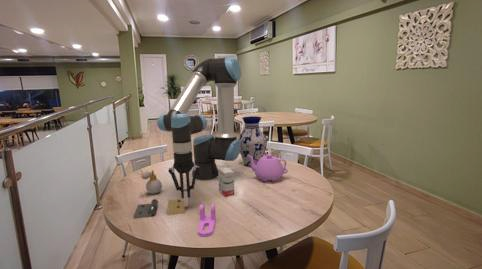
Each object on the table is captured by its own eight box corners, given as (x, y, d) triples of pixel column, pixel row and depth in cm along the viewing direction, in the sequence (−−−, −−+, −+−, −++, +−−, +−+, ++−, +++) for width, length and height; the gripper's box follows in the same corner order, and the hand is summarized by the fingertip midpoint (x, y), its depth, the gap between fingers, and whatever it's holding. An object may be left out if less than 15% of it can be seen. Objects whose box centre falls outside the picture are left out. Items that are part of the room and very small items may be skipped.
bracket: (201, 219, 110) (200, 202, 108) (215, 218, 110) (215, 202, 108) (196, 237, 97) (195, 219, 96) (212, 237, 97) (211, 218, 96)
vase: (241, 170, 167) (239, 120, 161) (235, 161, 185) (233, 116, 179) (271, 167, 171) (271, 118, 165) (262, 158, 189) (262, 115, 183)
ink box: (234, 195, 131) (234, 171, 129) (225, 197, 129) (224, 172, 127) (227, 188, 139) (226, 166, 137) (218, 190, 137) (217, 167, 134)
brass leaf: (185, 203, 124) (184, 197, 124) (184, 214, 115) (184, 207, 114) (169, 205, 123) (168, 199, 123) (167, 215, 113) (166, 209, 113)
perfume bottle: (164, 189, 140) (162, 167, 137) (157, 197, 130) (154, 173, 128) (150, 189, 140) (148, 166, 138) (141, 197, 131) (139, 173, 129)
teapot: (245, 183, 145) (245, 158, 142) (248, 173, 160) (248, 150, 158) (288, 184, 142) (288, 158, 140) (287, 174, 158) (287, 150, 155)
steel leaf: (158, 205, 122) (157, 199, 122) (155, 216, 113) (154, 209, 112) (138, 207, 121) (137, 200, 120) (133, 218, 111) (132, 211, 111)
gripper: (198, 148, 119) (201, 199, 124) (167, 150, 117) (171, 202, 122) (198, 152, 112) (202, 206, 117) (165, 155, 110) (170, 210, 114)
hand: (186, 204), depth 119 cm, fingers closed
